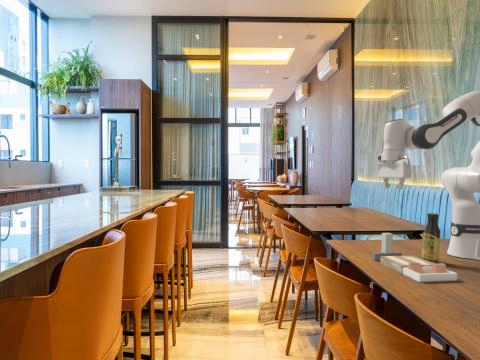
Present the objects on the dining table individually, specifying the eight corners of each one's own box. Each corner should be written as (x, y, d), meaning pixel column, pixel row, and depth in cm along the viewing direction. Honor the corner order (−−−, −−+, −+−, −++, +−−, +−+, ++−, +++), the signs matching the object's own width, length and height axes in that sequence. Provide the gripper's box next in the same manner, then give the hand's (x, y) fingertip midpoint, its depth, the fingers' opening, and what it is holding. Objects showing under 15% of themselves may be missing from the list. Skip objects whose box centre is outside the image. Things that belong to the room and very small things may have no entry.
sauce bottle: (418, 261, 147) (419, 212, 146) (428, 259, 149) (430, 212, 149) (432, 265, 141) (433, 214, 140) (443, 263, 143) (444, 214, 143)
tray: (438, 273, 130) (438, 266, 130) (457, 280, 121) (457, 273, 121) (402, 274, 127) (403, 267, 127) (419, 282, 118) (419, 274, 118)
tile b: (417, 265, 128) (419, 262, 127) (422, 275, 125) (424, 273, 124) (407, 265, 127) (409, 263, 126) (412, 275, 125) (414, 273, 124)
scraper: (397, 258, 151) (398, 232, 151) (402, 260, 148) (402, 233, 148) (371, 259, 149) (371, 233, 149) (375, 261, 146) (375, 234, 146)
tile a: (442, 263, 126) (445, 264, 125) (442, 274, 126) (445, 275, 125) (432, 263, 126) (435, 264, 124) (432, 275, 126) (435, 276, 124)
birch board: (412, 262, 144) (412, 255, 144) (437, 272, 130) (437, 264, 130) (380, 263, 142) (380, 256, 142) (401, 274, 128) (402, 265, 128)
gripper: (416, 156, 146) (415, 190, 146) (387, 157, 166) (386, 187, 166) (401, 155, 145) (400, 189, 145) (374, 157, 165) (374, 187, 165)
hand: (393, 188), depth 156 cm, fingers open, 8 cm apart
